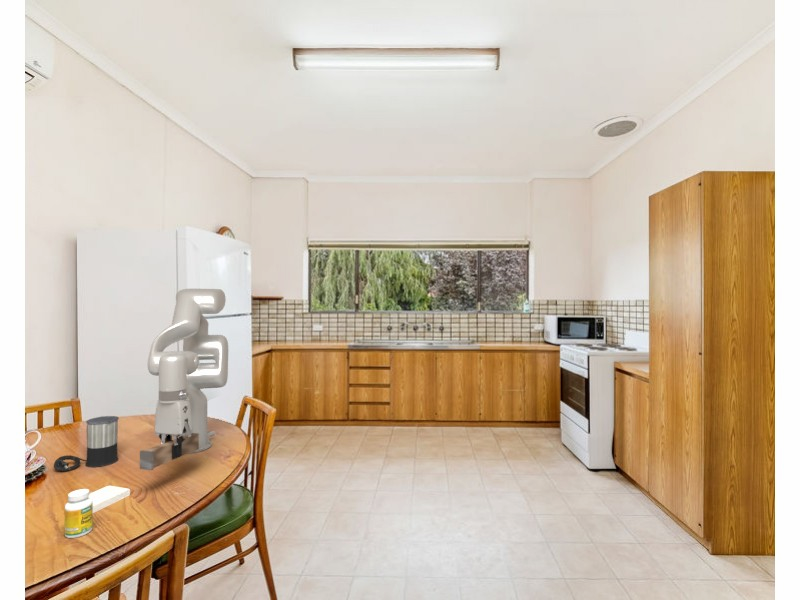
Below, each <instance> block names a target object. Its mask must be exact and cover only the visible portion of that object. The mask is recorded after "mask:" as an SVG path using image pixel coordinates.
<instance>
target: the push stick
mask: <svg viewBox="0 0 800 600" xmlns="http://www.w3.org/2000/svg"><path fill="white" fill-rule="evenodd" d="M173 445H174V444H173V439H172V441H169V442H166V443H163V444H162V443H161V444H159V445H155V446H153V447H150V448H147V449H141V450H139V470H145V471H153V470H154V469H155V468H157V467H160V466H162V465H164V464H166V463H169V462H171V461H174V460H175V459H172V446H173ZM198 449H199V433H191V436H190V437H188V438H186V439H185V440H184V442H183V443H182V455H181V456H180V457H178V458H181V457H183V456H185V455H188V454H190V453H191V452H193V451H196V450H198ZM193 453H194V452H193ZM191 454H192V453H191ZM178 458H177V459H178Z"/></svg>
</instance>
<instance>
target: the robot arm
mask: <svg viewBox="0 0 800 600" xmlns="http://www.w3.org/2000/svg"><path fill="white" fill-rule="evenodd" d="M226 299H227V298H226V295H225V292H224V291H223V290H222V289H220V288H184V289H181V290H179V291H177V292H176V294H175V301H176V302H175V305H174V306H175V307H174V312H173V315H172V320H171V321H172V322H171V325H169V326H167V327H166V328H164V329H163V330H162V331H161V332H160V333H159V334H158V335H157V336H155V338H154V340H153V341H152V343H151V346H150V348H149V349H150V350H149V354H148V359H147V370H148V372H149V374H151V375H152V376H157V377H158V400H157V403H156V407H155V415H154V430H155V431H154V435H155V436H157V437H158V438H159V439H160V441H161V444H163V443H166V442H169V441H172V440H173V444H174V445H173V446H172V459H174V460H176V459H178V457H179V458H181V457H182V456H181V455H182V443H183V442H184V440H185V439H186V438H188V437H190V436H191V433H199V449H198V450H196V451H193V452H191V454H192V453H199V452H202V451H206V450H208V449H210V448H211V447H212V445H213V444H212V443H213V442H212V441H211V440H210V438H211V437H214V436H216V430H212V431H208V398H207V396H206V395H205V393H204V392H203V391H202V390H203V389H217V388H223V387H225V386H226V385H227V382H228V378H229V375H228V374H229V343H228V342H229V341H228V339H227V337H226V336H224V335H222V334H209V322H208V319H206V317H205V316H204V315H206V314H207V315H216V314H219V313H220V312H222V311H223V310H224V308H225V306H226V301H227V300H226ZM180 341H183V342H182V351H181V350H179V351H178V350H177V351H176V350H174V351H171V350H170V351H164V350H165V349H166V348H168V347H169V346H171V345H172V344H173V345H174V344H175V343H177V342H180ZM205 360H206V361H207V360H212V361H215V362H200V361H205ZM180 456H181V457H180Z"/></svg>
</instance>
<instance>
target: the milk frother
mask: <svg viewBox="0 0 800 600" xmlns="http://www.w3.org/2000/svg"><path fill="white" fill-rule="evenodd" d="M119 418H120V417H118V416H116V415H106V416H105V415H101V416H97V417H93V418H89V419H87V420H86V421H85V423H86V459H83V458H81V457H78V456H75V455H71V454H70V455H63V456H60V457H58V458H57V459H56V460H55V461H54V463H53V468H54V470H56V471H60V472H67V471H73V470H75V469H77V468H79V467H80V465H81V461H82V462H85V466H86V467H88V468H89V467H90V468H99V467H105V466H109V465H112V464H114V463H116V462H117V461H118V460H119V457H118V434H119V433H118V429H119V428H118V425H119V423H118V422H119ZM66 460H67V461H69V460H70V461H73V462H75V464H74V465H71V466H69V464H70V463H69V462H66Z"/></svg>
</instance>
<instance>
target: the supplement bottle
mask: <svg viewBox="0 0 800 600" xmlns="http://www.w3.org/2000/svg"><path fill="white" fill-rule="evenodd" d="M89 494H90V489H88V488H82V489H76V490H73V491H71V492H69V493H68V494H67V500H68V502H67V503H65V504H66V505H65V506H64V536H65V538H68V539H76V538H81V537H83V536H85V535H87V534H89V533H91V531H92V530H93V528H94V527H93V526H94V525H93V524H94V521H93V519H94V516H93V514H94V513H93V501H92V499H91V498H89Z"/></svg>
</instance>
